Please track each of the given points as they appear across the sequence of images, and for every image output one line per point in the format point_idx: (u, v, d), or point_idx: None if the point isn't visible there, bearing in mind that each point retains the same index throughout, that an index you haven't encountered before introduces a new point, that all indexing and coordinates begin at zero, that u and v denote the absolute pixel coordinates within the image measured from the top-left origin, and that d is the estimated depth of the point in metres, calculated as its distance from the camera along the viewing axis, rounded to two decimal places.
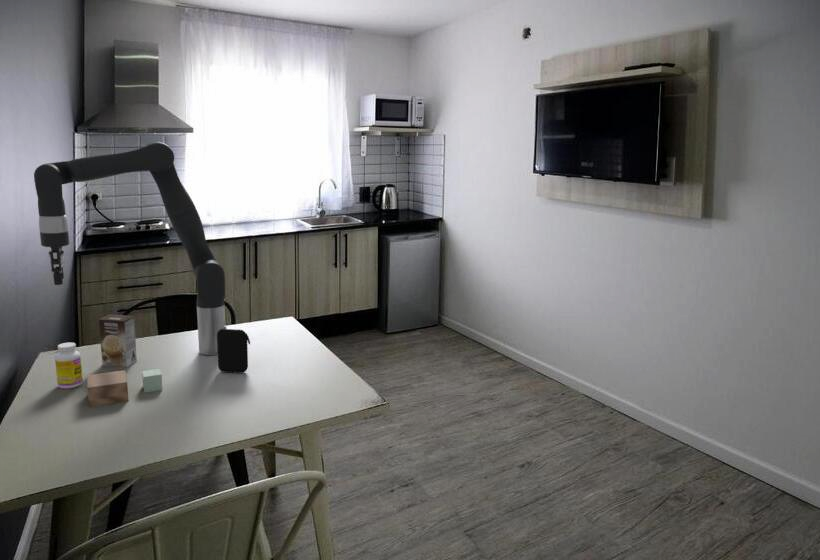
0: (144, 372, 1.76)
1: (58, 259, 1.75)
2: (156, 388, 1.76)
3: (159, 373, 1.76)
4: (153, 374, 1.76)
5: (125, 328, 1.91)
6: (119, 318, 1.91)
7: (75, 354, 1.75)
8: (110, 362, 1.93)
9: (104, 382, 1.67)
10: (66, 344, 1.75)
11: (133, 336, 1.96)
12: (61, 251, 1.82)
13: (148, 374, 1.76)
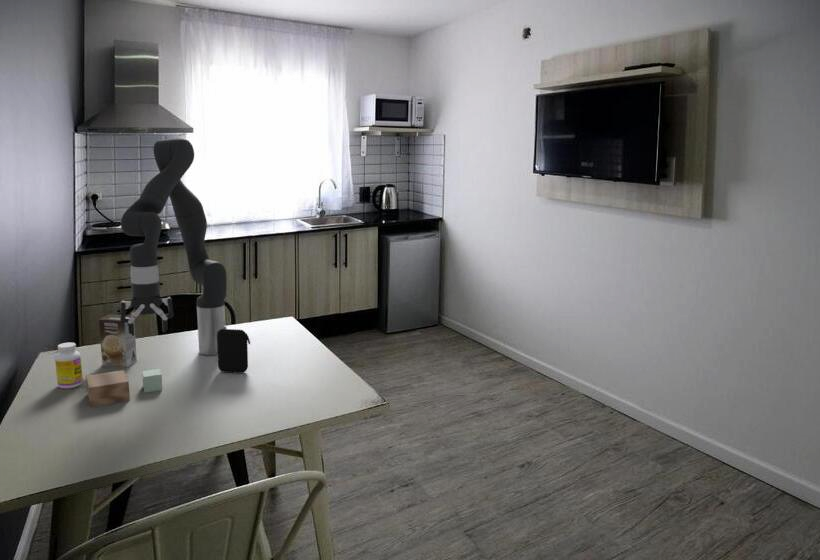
0: (144, 372, 1.76)
1: None
2: (156, 388, 1.76)
3: (159, 373, 1.76)
4: (153, 374, 1.76)
5: (125, 328, 1.91)
6: (119, 318, 1.91)
7: (75, 353, 1.75)
8: (110, 362, 1.93)
9: (105, 382, 1.67)
10: (66, 344, 1.75)
11: (133, 336, 1.96)
12: None
13: (148, 373, 1.76)
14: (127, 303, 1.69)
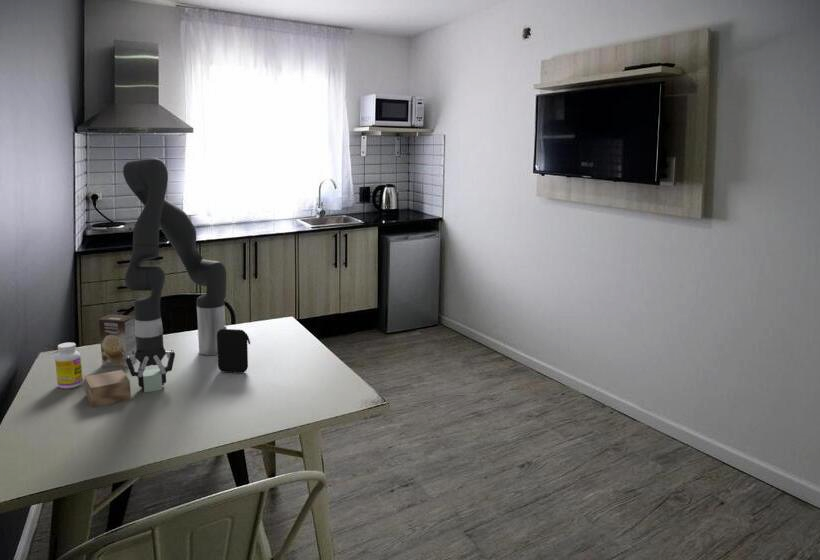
0: (144, 372, 1.76)
1: None
2: (156, 388, 1.76)
3: (159, 373, 1.76)
4: (153, 373, 1.76)
5: (125, 328, 1.91)
6: (119, 318, 1.91)
7: (75, 353, 1.75)
8: (110, 362, 1.93)
9: (106, 382, 1.67)
10: (66, 344, 1.75)
11: (133, 336, 1.96)
12: None
13: (148, 373, 1.76)
14: (132, 357, 1.73)
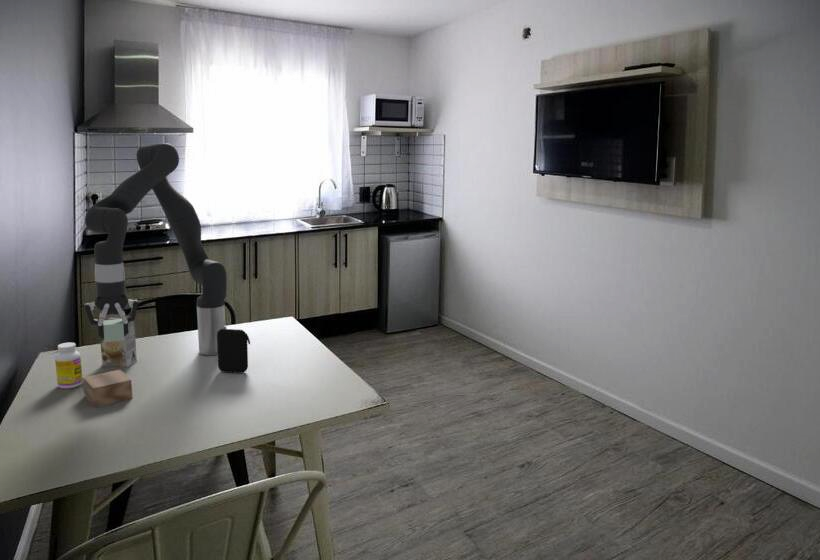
0: (104, 321, 1.67)
1: None
2: (117, 338, 1.66)
3: (121, 323, 1.66)
4: (114, 323, 1.66)
5: None
6: (119, 318, 1.91)
7: (75, 353, 1.75)
8: (110, 362, 1.93)
9: (107, 381, 1.67)
10: (66, 344, 1.75)
11: (133, 336, 1.96)
12: None
13: (109, 322, 1.66)
14: (91, 304, 1.63)
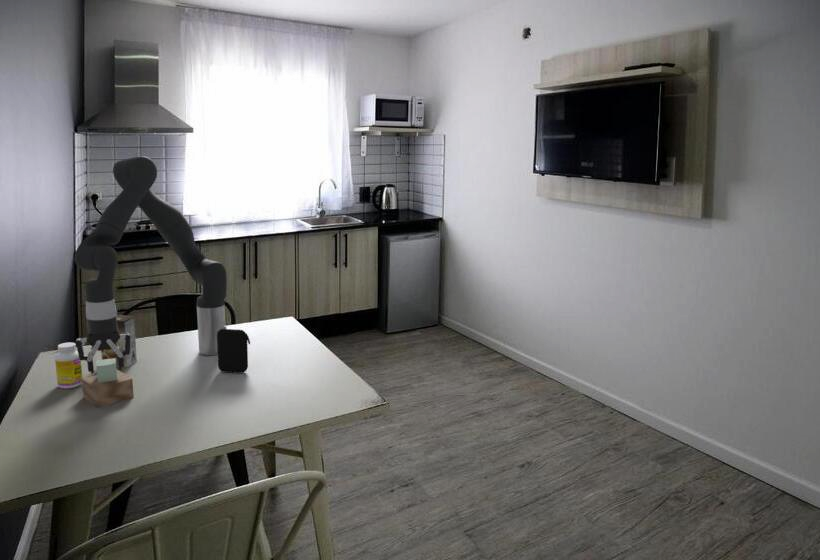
0: (98, 362, 1.68)
1: None
2: (110, 378, 1.67)
3: (114, 363, 1.68)
4: (107, 363, 1.67)
5: (125, 328, 1.91)
6: (119, 318, 1.91)
7: (75, 353, 1.75)
8: None
9: (108, 381, 1.67)
10: (66, 344, 1.75)
11: (133, 336, 1.96)
12: None
13: (102, 363, 1.67)
14: (83, 340, 1.64)
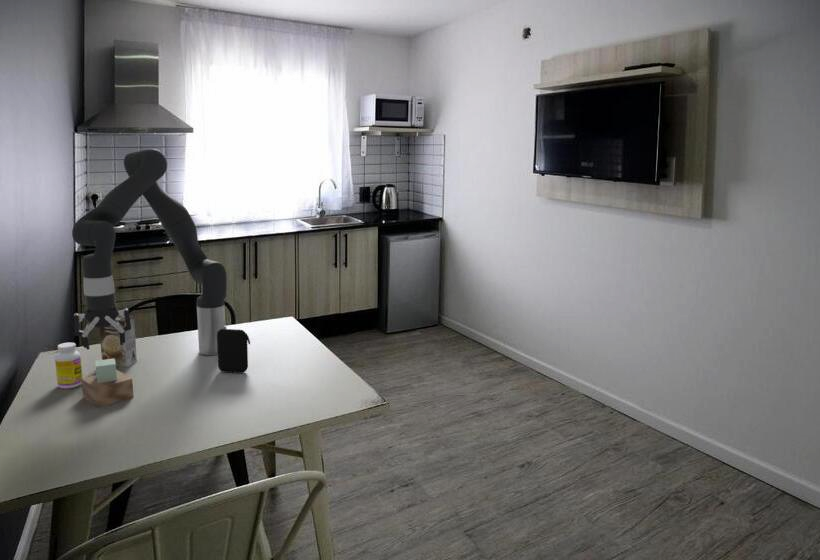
0: (97, 362, 1.68)
1: None
2: (110, 378, 1.67)
3: (113, 363, 1.68)
4: (106, 363, 1.67)
5: None
6: (119, 318, 1.91)
7: (75, 353, 1.75)
8: None
9: None
10: (66, 344, 1.75)
11: (133, 336, 1.96)
12: None
13: (101, 363, 1.67)
14: (81, 316, 1.62)
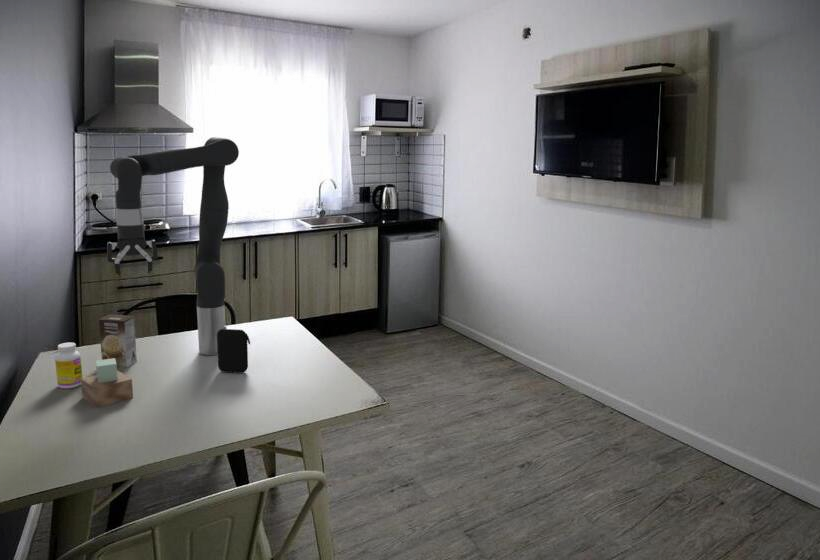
0: (97, 362, 1.68)
1: None
2: (111, 378, 1.67)
3: (114, 363, 1.68)
4: (107, 363, 1.67)
5: (125, 328, 1.91)
6: (119, 318, 1.91)
7: (75, 353, 1.75)
8: None
9: (107, 382, 1.67)
10: (66, 344, 1.75)
11: (133, 336, 1.96)
12: None
13: (102, 363, 1.67)
14: (113, 244, 1.80)
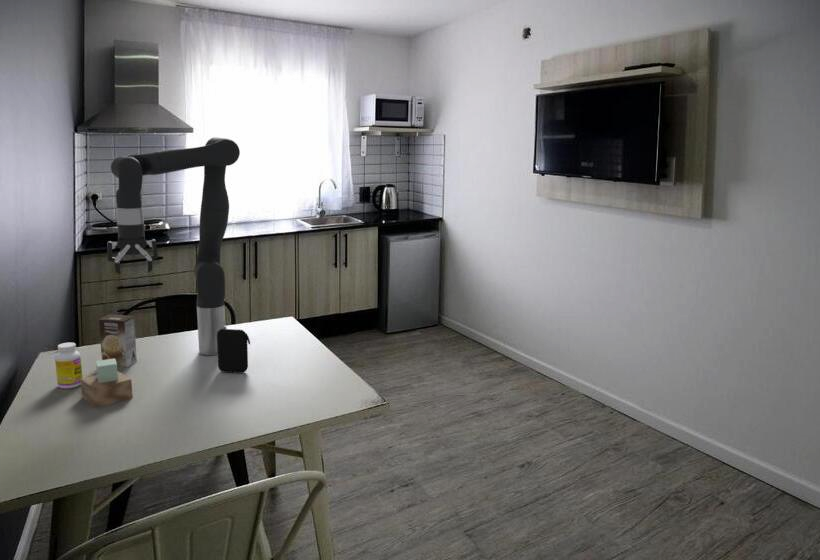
0: (98, 362, 1.68)
1: None
2: (111, 378, 1.67)
3: (115, 363, 1.68)
4: (108, 363, 1.67)
5: (125, 328, 1.91)
6: (119, 318, 1.91)
7: (75, 354, 1.75)
8: None
9: (107, 382, 1.67)
10: (66, 344, 1.75)
11: (133, 336, 1.96)
12: None
13: (102, 363, 1.67)
14: (113, 243, 1.80)
